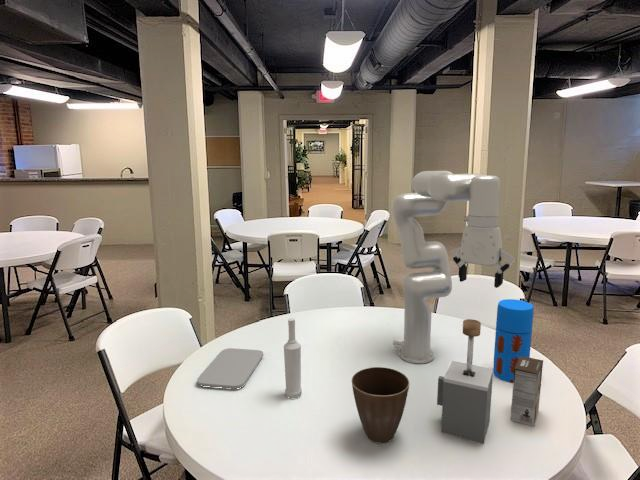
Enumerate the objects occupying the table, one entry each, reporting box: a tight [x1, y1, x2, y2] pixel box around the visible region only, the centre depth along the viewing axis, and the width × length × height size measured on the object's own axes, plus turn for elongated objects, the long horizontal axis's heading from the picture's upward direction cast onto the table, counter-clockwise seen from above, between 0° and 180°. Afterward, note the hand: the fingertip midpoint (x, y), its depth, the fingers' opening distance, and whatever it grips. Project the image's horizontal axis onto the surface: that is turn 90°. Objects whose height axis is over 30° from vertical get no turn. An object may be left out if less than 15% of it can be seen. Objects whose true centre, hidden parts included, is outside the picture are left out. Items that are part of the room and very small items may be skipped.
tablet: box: [196, 347, 264, 389], centre depth 158 cm, size 16×26×2 cm, turn 170°
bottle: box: [283, 317, 303, 399], centre depth 140 cm, size 5×5×25 cm
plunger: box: [462, 318, 482, 377], centre depth 121 cm, size 8×8×19 cm
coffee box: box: [510, 356, 544, 427], centre depth 128 cm, size 9×6×16 cm
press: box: [436, 360, 494, 445], centre depth 124 cm, size 13×11×16 cm
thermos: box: [493, 298, 535, 384], centre depth 150 cm, size 11×11×25 cm
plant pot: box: [351, 366, 410, 444], centre depth 121 cm, size 15×15×16 cm
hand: (479, 283), depth 125 cm, fingers open, 9 cm apart
